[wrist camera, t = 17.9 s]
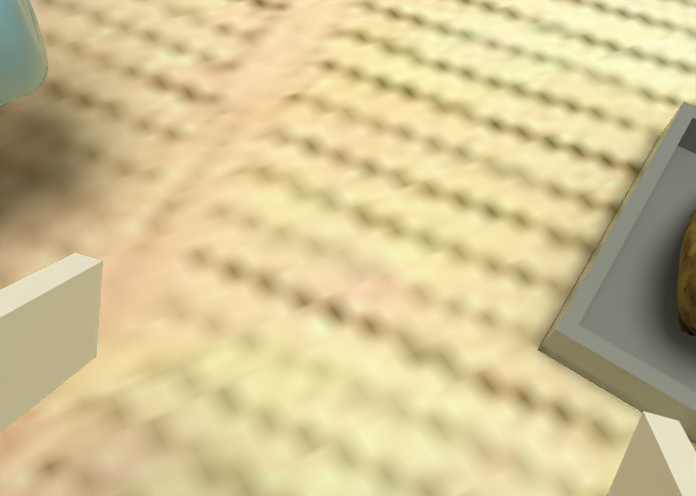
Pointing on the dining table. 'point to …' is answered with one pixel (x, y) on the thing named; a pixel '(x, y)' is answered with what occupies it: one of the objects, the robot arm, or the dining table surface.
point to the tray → (639, 290)
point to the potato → (687, 280)
